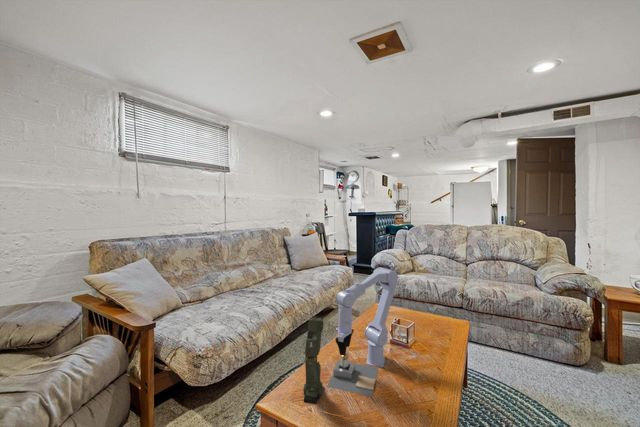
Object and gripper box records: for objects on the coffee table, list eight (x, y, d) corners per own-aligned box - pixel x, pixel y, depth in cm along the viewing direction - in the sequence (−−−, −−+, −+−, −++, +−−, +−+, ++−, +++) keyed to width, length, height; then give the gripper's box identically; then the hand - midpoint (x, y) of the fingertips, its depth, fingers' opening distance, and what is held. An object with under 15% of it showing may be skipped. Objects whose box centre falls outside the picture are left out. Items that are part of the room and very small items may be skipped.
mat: (339, 361, 129) (339, 360, 129) (378, 368, 123) (378, 367, 123) (327, 387, 110) (327, 386, 110) (371, 397, 104) (371, 396, 104)
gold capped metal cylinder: (341, 370, 121) (341, 352, 121) (349, 371, 120) (349, 353, 120) (339, 374, 118) (339, 356, 118) (347, 376, 117) (347, 357, 117)
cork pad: (359, 376, 117) (359, 375, 117) (375, 380, 114) (375, 378, 114) (355, 386, 110) (355, 385, 110) (373, 390, 108) (373, 389, 108)
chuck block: (338, 366, 124) (338, 359, 124) (355, 369, 122) (355, 363, 122) (333, 376, 117) (333, 369, 117) (351, 380, 114) (351, 373, 114)
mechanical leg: (317, 410, 97) (321, 320, 103) (297, 407, 98) (303, 318, 104) (324, 394, 110) (327, 315, 116) (306, 391, 111) (311, 314, 118)
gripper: (340, 312, 127) (340, 341, 127) (331, 325, 113) (331, 357, 113) (355, 314, 125) (355, 343, 125) (348, 327, 111) (347, 360, 111)
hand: (344, 350), depth 119 cm, fingers open, 7 cm apart
